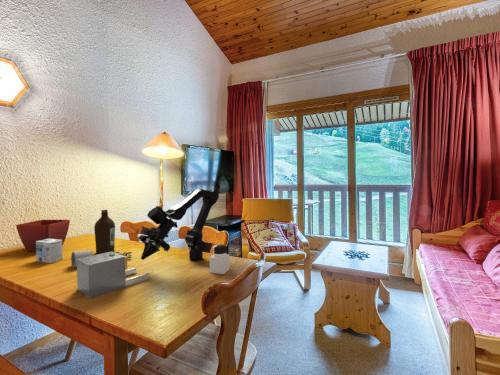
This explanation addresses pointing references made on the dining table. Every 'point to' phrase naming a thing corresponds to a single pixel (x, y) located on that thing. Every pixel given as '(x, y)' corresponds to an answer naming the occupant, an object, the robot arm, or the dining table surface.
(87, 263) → the box
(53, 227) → the plant pot
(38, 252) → the light bulb box
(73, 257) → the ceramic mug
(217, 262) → the medicine bottle
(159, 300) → the dining table surface
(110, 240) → the olive oil
